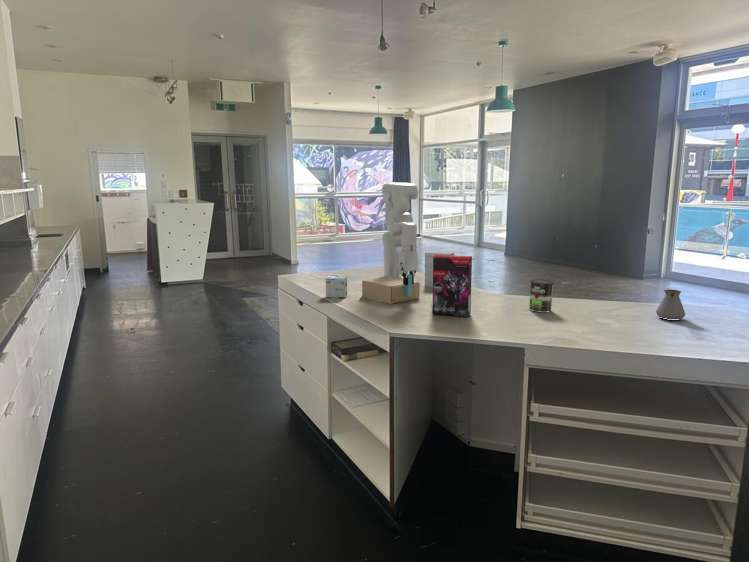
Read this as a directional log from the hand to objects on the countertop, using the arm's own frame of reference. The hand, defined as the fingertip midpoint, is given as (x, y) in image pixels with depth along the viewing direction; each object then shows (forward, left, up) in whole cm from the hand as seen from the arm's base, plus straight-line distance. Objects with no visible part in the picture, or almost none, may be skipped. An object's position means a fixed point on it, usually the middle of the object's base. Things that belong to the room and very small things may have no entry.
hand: (408, 284), depth 260 cm
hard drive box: (-41, -15, -10) cm, 45 cm away
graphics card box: (+3, +31, -10) cm, 32 cm away
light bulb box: (+20, -33, -10) cm, 40 cm away
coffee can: (-35, +54, -9) cm, 65 cm away
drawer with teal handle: (0, -11, -8) cm, 14 cm away
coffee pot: (-60, +102, -10) cm, 118 cm away
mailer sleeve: (0, -13, -9) cm, 16 cm away
